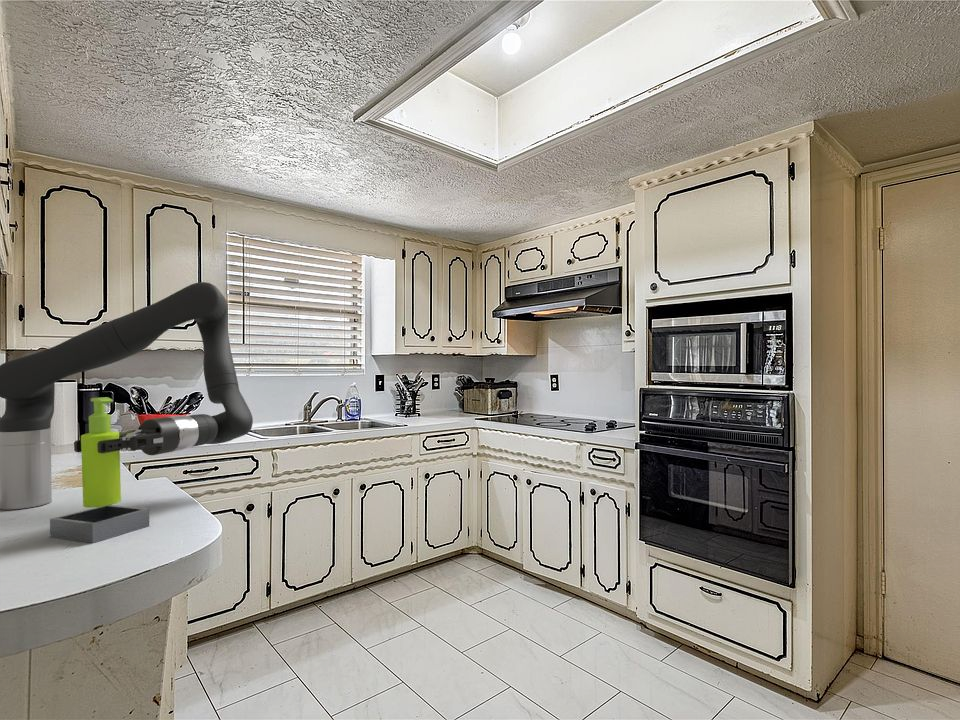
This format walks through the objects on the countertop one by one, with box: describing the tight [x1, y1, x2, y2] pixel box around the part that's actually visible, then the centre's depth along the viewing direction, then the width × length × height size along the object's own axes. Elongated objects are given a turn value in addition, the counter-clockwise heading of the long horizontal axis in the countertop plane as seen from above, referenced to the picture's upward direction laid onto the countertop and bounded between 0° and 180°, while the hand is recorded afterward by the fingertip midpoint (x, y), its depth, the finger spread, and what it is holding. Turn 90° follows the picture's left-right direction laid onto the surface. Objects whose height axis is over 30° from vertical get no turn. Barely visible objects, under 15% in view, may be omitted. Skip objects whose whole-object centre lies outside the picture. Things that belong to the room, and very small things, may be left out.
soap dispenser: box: [80, 396, 122, 509], centre depth 102 cm, size 6×7×20 cm
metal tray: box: [49, 504, 150, 544], centre depth 102 cm, size 12×11×3 cm
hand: (87, 447), depth 100 cm, fingers closed on soap dispenser, 6 cm apart
